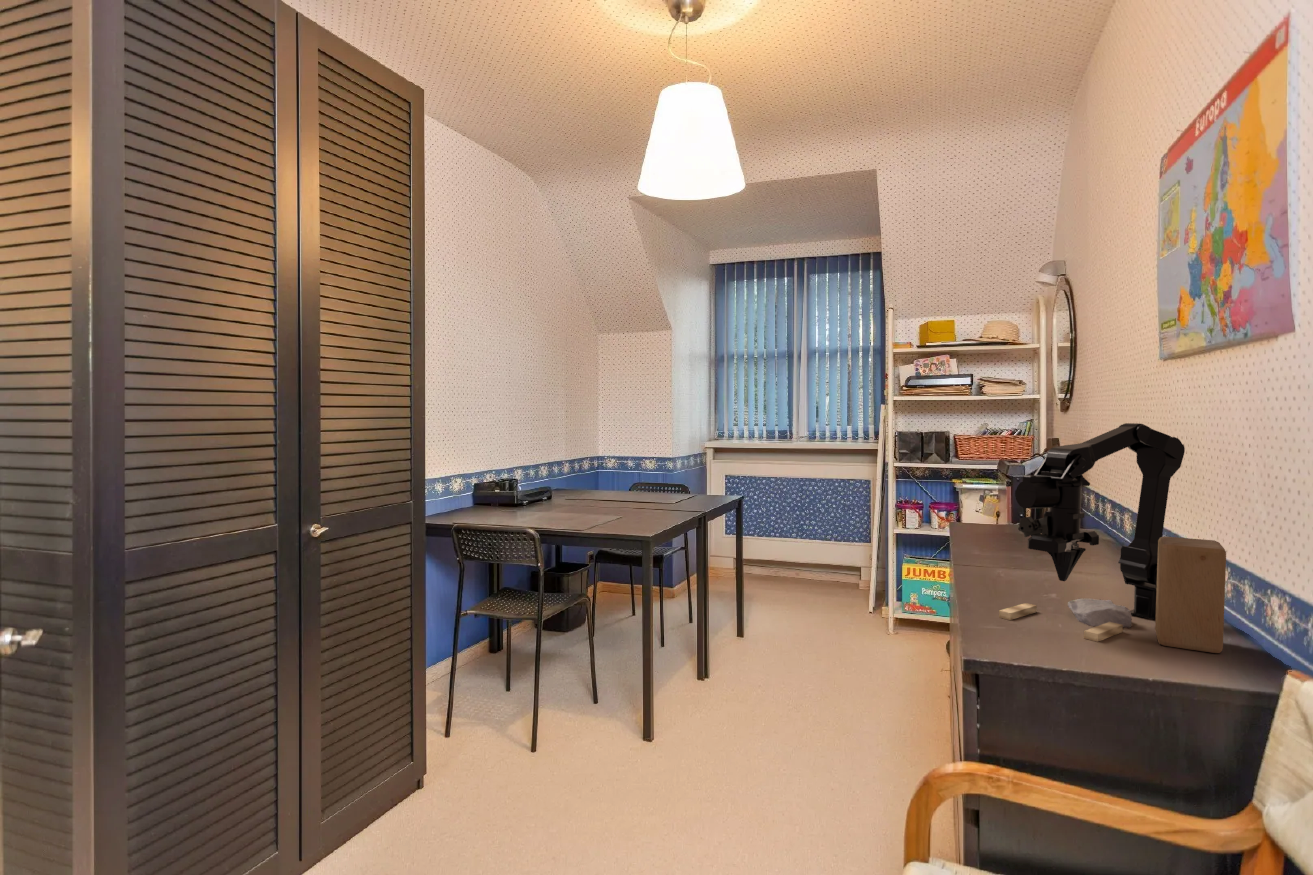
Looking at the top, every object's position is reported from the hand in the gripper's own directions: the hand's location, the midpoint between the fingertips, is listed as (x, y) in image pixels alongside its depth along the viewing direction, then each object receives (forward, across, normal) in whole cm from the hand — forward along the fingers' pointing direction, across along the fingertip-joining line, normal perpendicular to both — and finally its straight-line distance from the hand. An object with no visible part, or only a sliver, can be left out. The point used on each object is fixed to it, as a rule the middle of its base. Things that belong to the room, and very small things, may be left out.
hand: (1062, 580), depth 153 cm
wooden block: (+9, -7, +20) cm, 23 cm away
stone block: (+10, -10, +3) cm, 14 cm away
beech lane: (+9, +1, 0) cm, 9 cm away
